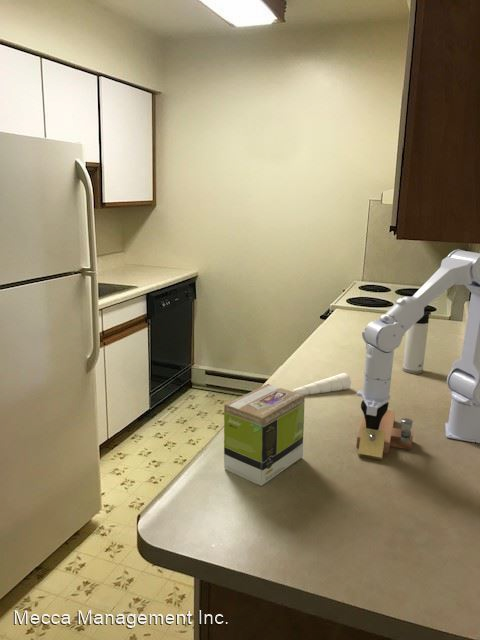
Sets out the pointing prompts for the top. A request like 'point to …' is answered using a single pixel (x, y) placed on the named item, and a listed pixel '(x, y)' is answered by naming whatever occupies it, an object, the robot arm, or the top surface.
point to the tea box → (263, 433)
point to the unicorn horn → (326, 385)
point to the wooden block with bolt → (371, 443)
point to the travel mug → (416, 345)
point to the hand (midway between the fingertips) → (371, 432)
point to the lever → (406, 429)
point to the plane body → (388, 433)
